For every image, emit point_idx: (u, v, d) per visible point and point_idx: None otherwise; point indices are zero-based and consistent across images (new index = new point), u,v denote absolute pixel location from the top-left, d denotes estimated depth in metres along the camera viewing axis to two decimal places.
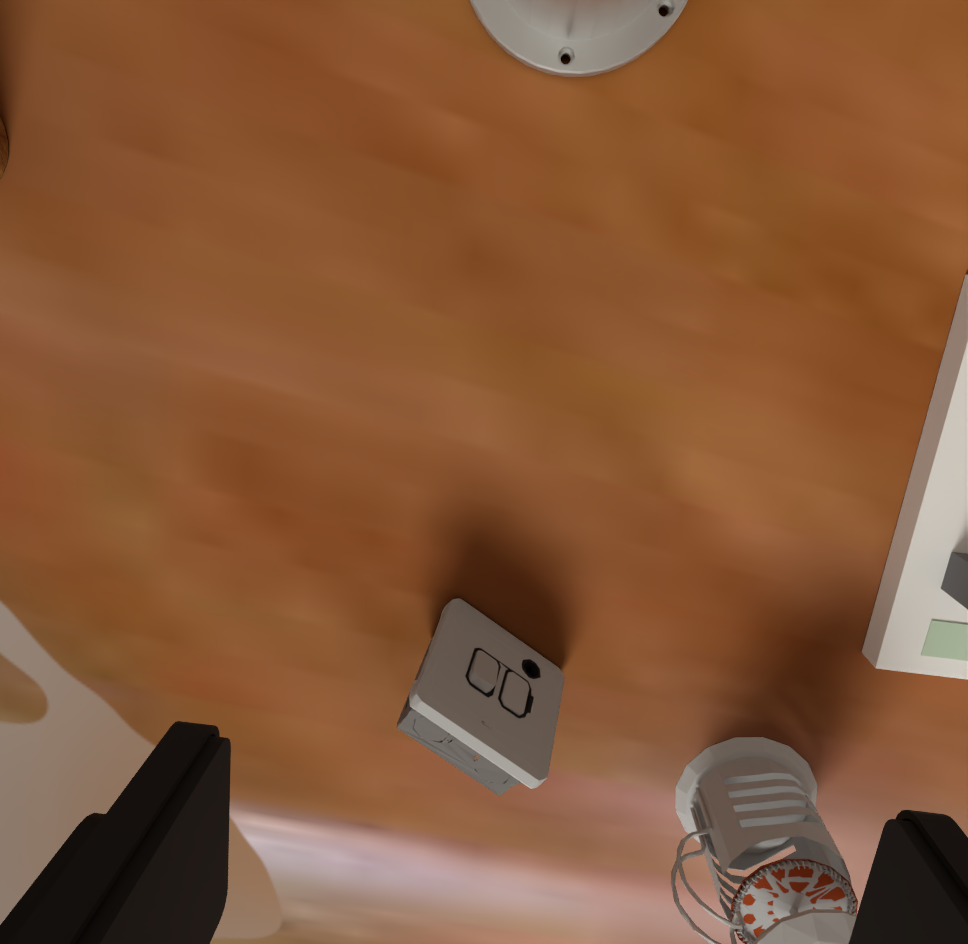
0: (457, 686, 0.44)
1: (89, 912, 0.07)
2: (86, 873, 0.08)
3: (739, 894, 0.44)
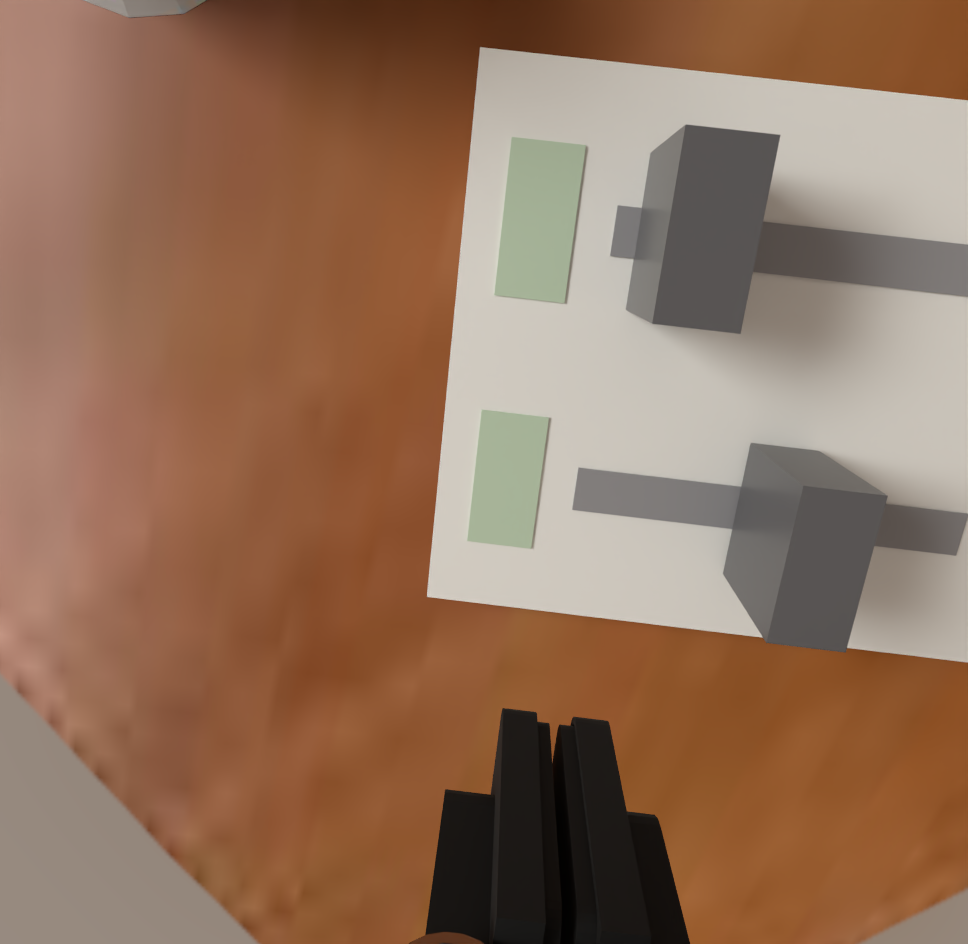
0: None
1: (543, 869, 0.08)
2: (520, 837, 0.09)
3: None
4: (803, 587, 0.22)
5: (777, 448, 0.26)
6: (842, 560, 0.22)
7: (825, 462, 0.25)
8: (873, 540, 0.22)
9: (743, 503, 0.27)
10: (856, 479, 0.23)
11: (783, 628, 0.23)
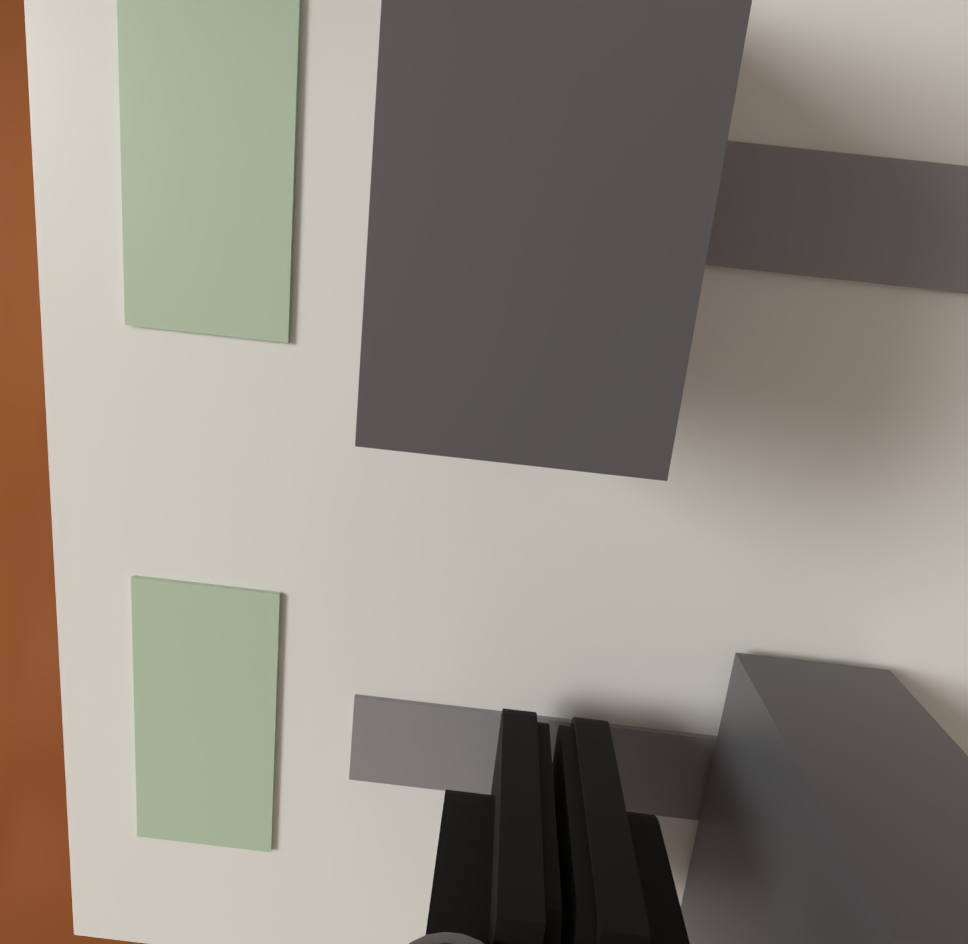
0: None
1: (543, 869, 0.08)
2: (520, 836, 0.09)
3: None
4: None
5: (796, 673, 0.11)
6: None
7: (918, 735, 0.10)
8: None
9: (720, 789, 0.12)
10: None
11: None
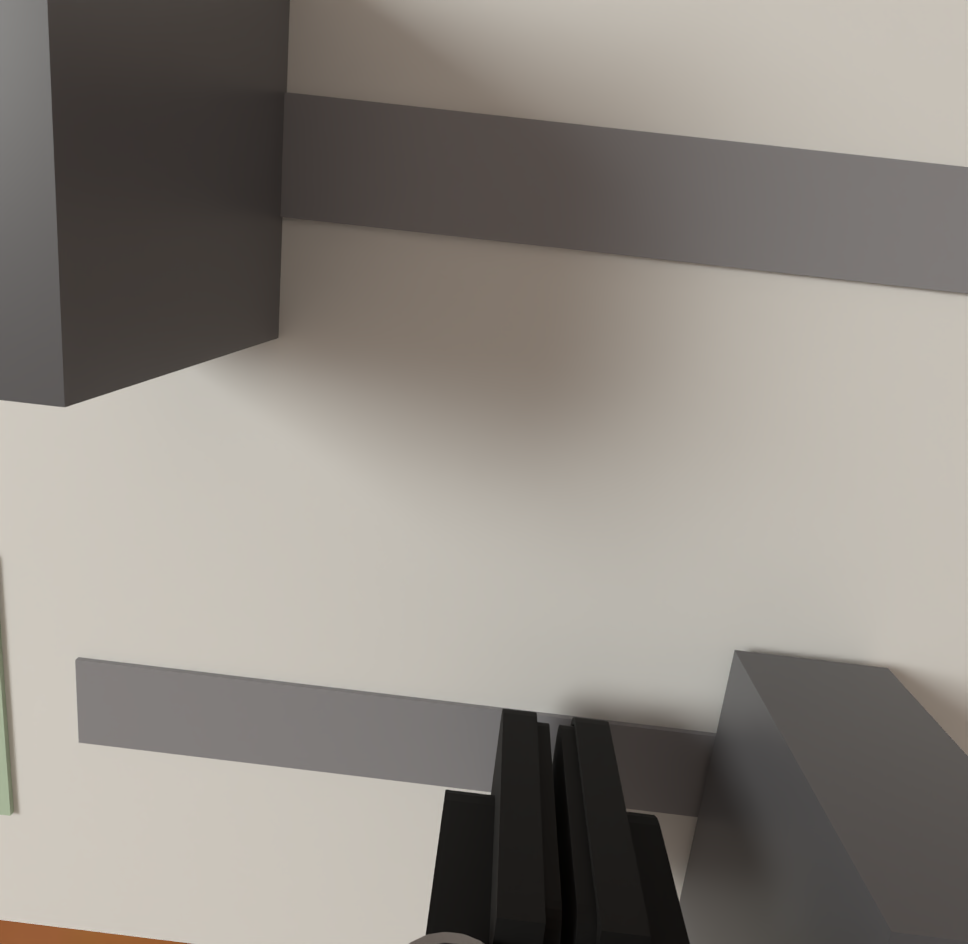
0: None
1: (543, 868, 0.08)
2: (520, 836, 0.09)
3: None
4: None
5: (795, 670, 0.11)
6: None
7: (915, 732, 0.10)
8: None
9: (719, 786, 0.12)
10: None
11: None
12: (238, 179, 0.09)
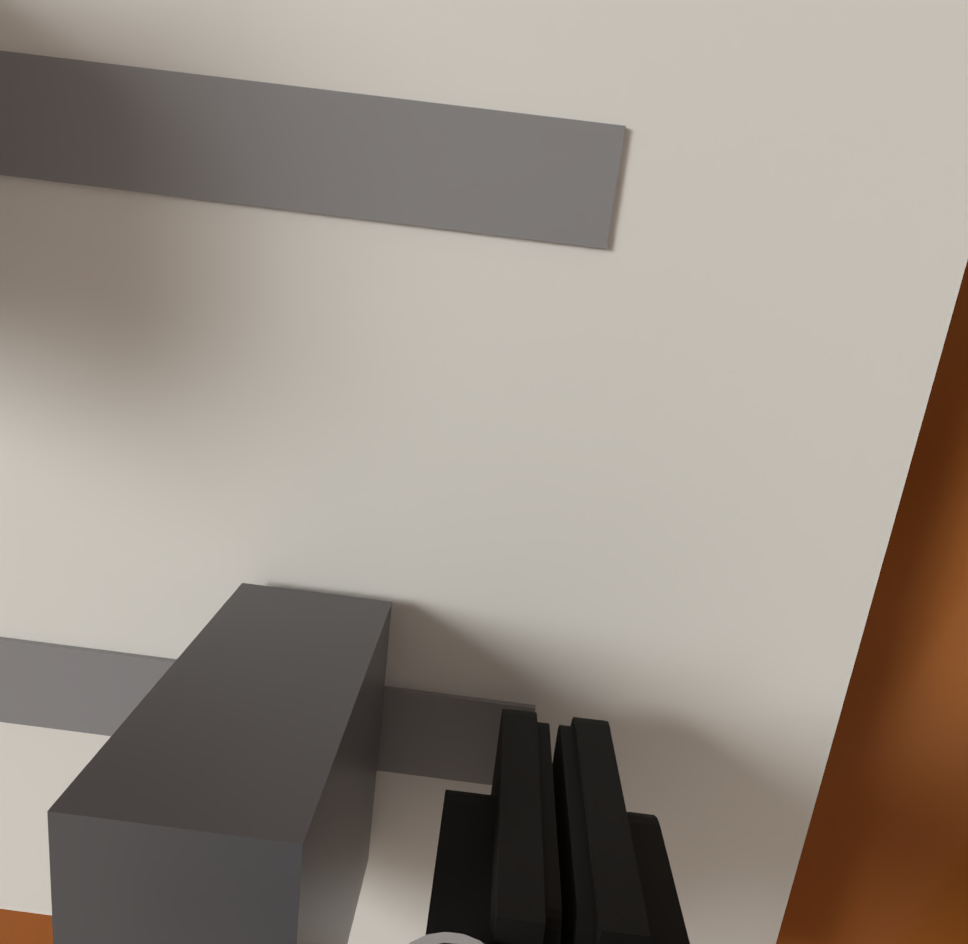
0: None
1: (543, 868, 0.08)
2: (520, 836, 0.09)
3: None
4: None
5: (282, 601, 0.12)
6: None
7: (336, 654, 0.10)
8: None
9: None
10: (318, 740, 0.09)
11: None
12: None
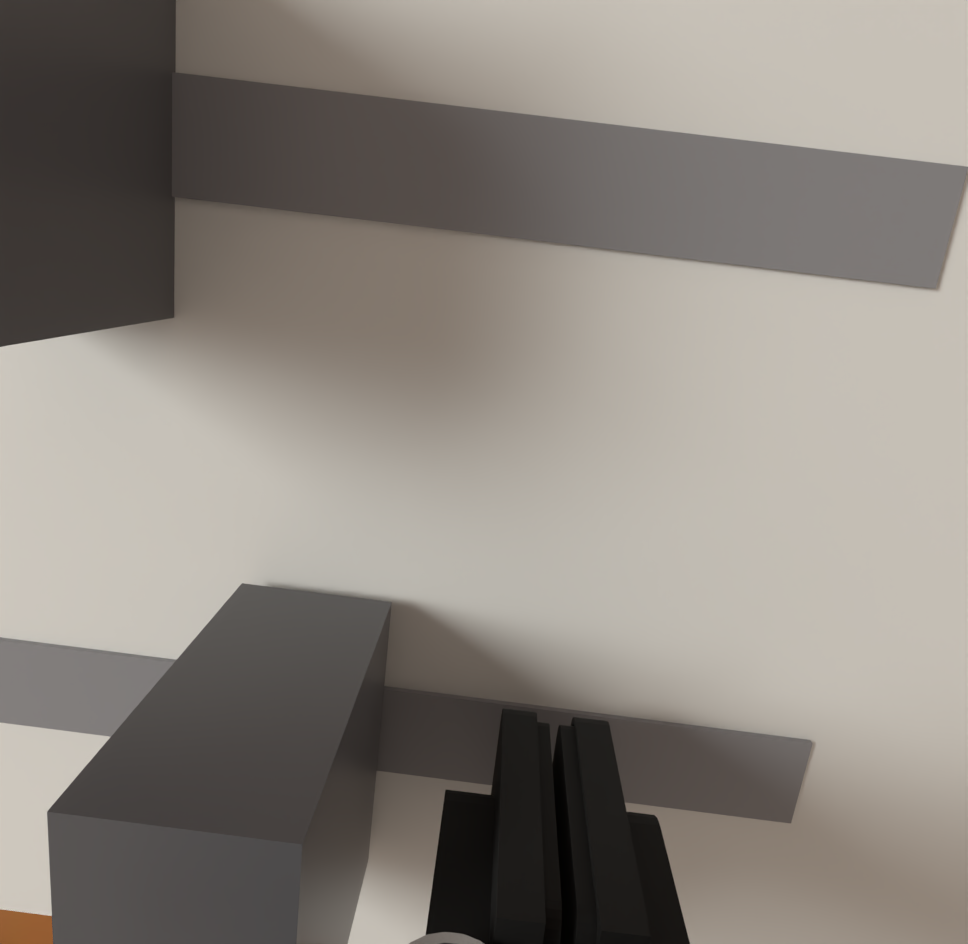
0: None
1: (543, 869, 0.08)
2: (520, 837, 0.09)
3: None
4: None
5: (282, 601, 0.12)
6: None
7: (336, 654, 0.10)
8: None
9: None
10: (318, 740, 0.09)
11: None
12: (109, 155, 0.09)
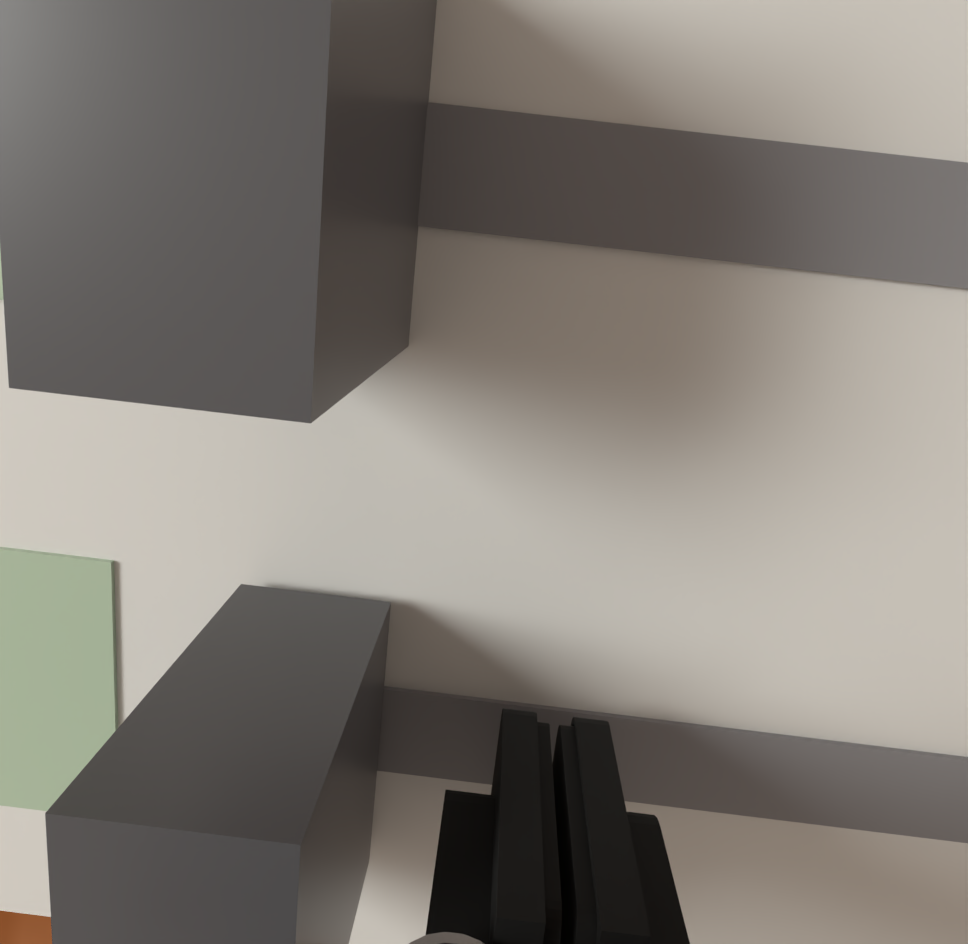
0: None
1: (543, 869, 0.08)
2: (520, 836, 0.09)
3: None
4: None
5: (281, 602, 0.12)
6: None
7: (335, 654, 0.10)
8: None
9: None
10: (316, 740, 0.09)
11: None
12: (401, 190, 0.09)
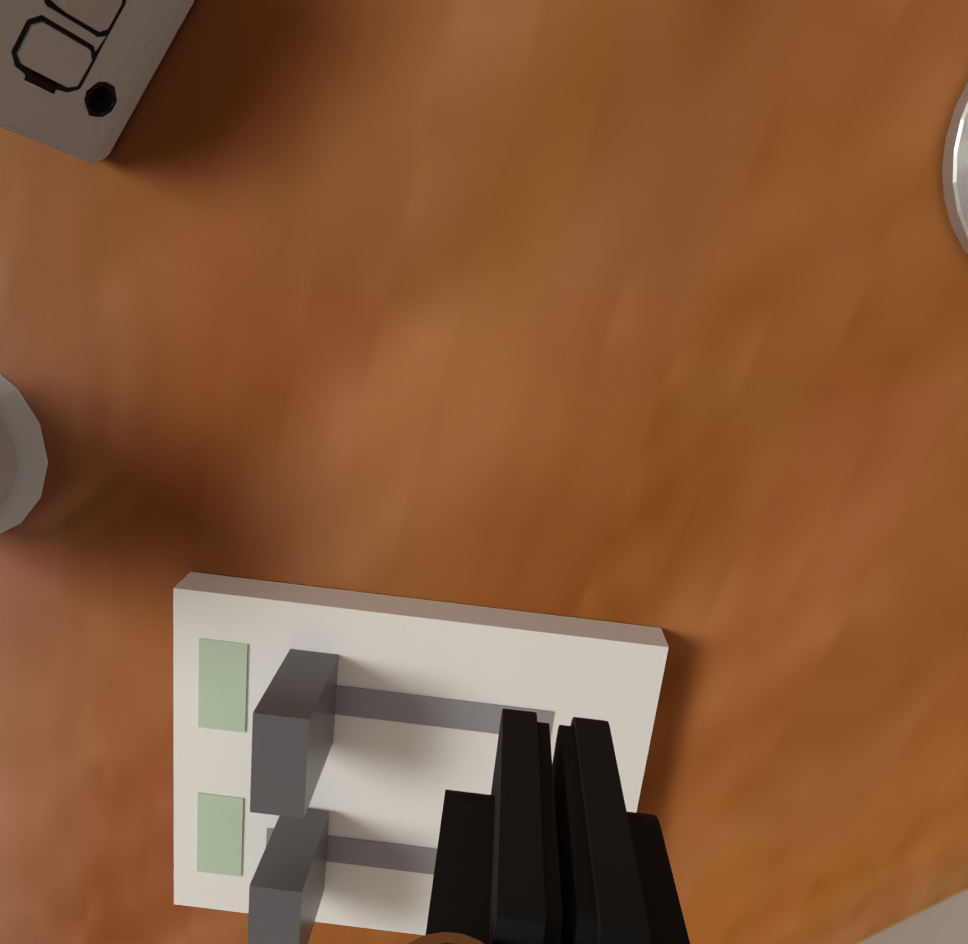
0: None
1: (543, 868, 0.08)
2: (520, 836, 0.09)
3: None
4: (262, 941, 0.35)
5: None
6: (283, 926, 0.35)
7: (311, 836, 0.38)
8: (298, 916, 0.35)
9: None
10: (305, 865, 0.36)
11: None
12: (326, 728, 0.36)
